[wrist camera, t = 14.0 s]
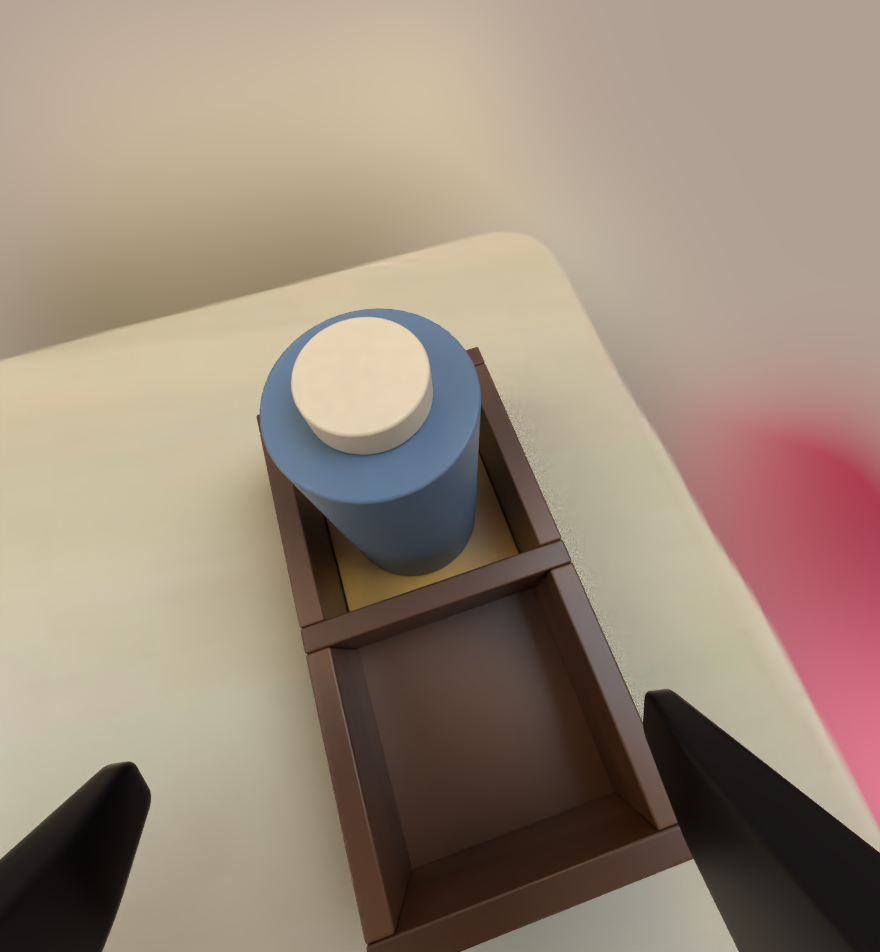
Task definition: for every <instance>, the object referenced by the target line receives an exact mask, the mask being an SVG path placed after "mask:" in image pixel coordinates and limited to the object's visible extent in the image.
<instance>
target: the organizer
mask: <svg viewBox="0 0 880 952" xmlns="http://www.w3.org/2000/svg"><path fill="white" fill-rule="evenodd" d="M466 352H467V353H468V355H469V357H470V359H471V360H472V362H473V364H474V367H475V369H476V372H477V375H478V379H479V383H480V391H481V410H480V430H479V449H478V469H477V488H476V508H475V523H474V528H473V531H472V534H471V537H470V539H469V541H468V543H467V545H466V546H465V548H464V549H463V551H462V552H461V553H460V554H459V555H458V557H457V558H456V559H454V560H453V561H452V562H451V563H450V564H448V565H447V566H445V567H443V568H442V569H440V570H437V571H435V572H432V573H429V574H426V575H420V576H401V575H397V574H393V573H390V572H387V571H385V570H383V569H381V568H379V567H378V566H376V565H375V564H373V563H372V562H371V561H370V560H369V559H368V558H367V557H366V556H365V555H364V554H363V553H362V552H361V551H360V550H359V549H358V548H357V547H356V546H355V545H354V544H353V543H352V542H351V541H350V540H349V539H348V538H347V537H346V536H345V535H344V534H343V533H342V532H341V531H340V530H339V529H338V528H337V527H336V526H335V525H334V524H333V523H332V522H331V521H330V520H329V519H328V518H327V517H326V516H325V515H324V514H323V513H322V512H321V511H320V510H319V509H318V508H317V507H316V506H315V505H314V504H313V503H312V502H311V501H310V500H309V499H308V498H307V497H306V496H305V495H304V494H303V493H302V492H301V491H300V490H299V489H298V488H297V487H296V486H295V485H294V484H293V483H292V482H291V481H290V480H289V479H288V478H287V477H286V476H285V475H284V474H283V473H282V472H281V471H280V470H279V468H278V467H277V466H276V464H275V463H274V462H273V460H272V458H271V457H270V455H269V453H268V451H267V449H266V446H265V443H264V440H263V438H262V432H261V427H260V415H257V421H258V426H259V431H260V433H261V434H260V436H261V441H262V446H263V451H264V456H265V460H266V465H267V470H268V475H269V480H270V485H271V490H272V494H273V499H274V504H275V509H276V514H277V519H278V524H279V528H280V533H281V538H282V543H283V548H284V553H285V558H286V562H287V567H288V572H289V577H290V582H291V587H292V592H293V596H294V601H295V606H296V611H297V616H298V621H299V626H300V628H302V629H301V635H302V640H303V645H304V649H305V653H306V654H308V655H307V663H308V668H309V673H310V678H311V682H312V687H313V692H314V697H315V702H316V707H317V711H318V716H319V721H320V726H321V731H322V736H323V741H324V745H325V750H326V755H327V760H328V765H329V770H330V774H331V779H332V784H333V789H334V794H335V799H336V804H337V808H338V813H339V818H340V823H341V828H342V833H343V838H344V842H345V847H346V852H347V857H348V862H349V867H350V871H351V876H352V881H353V886H354V891H355V896H356V901H357V905H358V910H359V915H360V920H361V925H362V930H363V934H364V939H365V942H366V944H368V945H367V952H460V951H463V950H465V949H468V948H470V947H473V946H475V945H478V944H480V943H483V942H485V941H488V940H490V939H493V938H496V937H498V936H501V935H503V934H506V933H508V932H511V931H513V930H516V929H518V928H521V927H523V926H526V925H528V924H531V923H533V922H536V921H538V920H541V919H543V918H546V917H548V916H551V915H553V914H556V913H558V912H561V911H563V910H566V909H568V908H571V907H573V906H576V905H578V904H581V903H583V902H586V901H588V900H591V899H593V898H596V897H598V896H601V895H603V894H606V893H608V892H611V891H613V890H616V889H618V888H621V887H623V886H626V885H628V884H631V883H634V882H636V881H639V880H641V879H644V878H646V877H649V876H651V875H654V874H656V873H659V872H661V871H664V870H666V869H669V868H671V867H674V866H676V865H679V864H681V863H684V862H686V861H689V860H691V859H694V858H693V856H692V854H691V852H690V850H689V848H688V846H687V843H686V841H685V839H684V837H683V834H682V832H681V829H680V827H679V824H678V822H677V819H676V817H675V814H674V811H673V809H672V806H671V804H670V801H669V798H668V796H667V793H666V790H665V788H664V785H663V782H662V780H661V777H660V774H659V772H658V769H657V767H656V764H655V761H654V759H653V756H652V753H651V751H650V748H649V745H648V743H647V740H646V737H645V734H644V729H643V722H642V720H641V718H640V715H639V713H638V711H637V708H636V706H635V704H634V702H633V699H632V697H631V695H630V693H629V690H628V688H627V686H626V683H625V681H624V679H623V677H622V674H621V672H620V670H619V667H618V665H617V663H616V661H615V658H614V656H613V654H612V651H611V649H610V647H609V645H608V642H607V640H606V638H605V636H604V633H603V631H602V629H601V626H600V624H599V622H598V620H597V617H596V615H595V613H594V610H593V608H592V606H591V604H590V601H589V599H588V597H587V595H586V592H585V590H584V588H583V585H582V583H581V581H580V579H579V576H578V574H577V572H576V569H575V567H574V565H573V564H572V563H570V562H571V558H570V556H569V553H568V551H567V549H566V547H565V544H564V542H563V541H562V540H560V539H561V535H560V533H559V531H558V528H557V526H556V524H555V522H554V519H553V517H552V515H551V513H550V510H549V508H548V506H547V503H546V501H545V499H544V497H543V494H542V492H541V490H540V487H539V485H538V483H537V481H536V478H535V476H534V474H533V471H532V469H531V467H530V465H529V462H528V460H527V458H526V456H525V453H524V451H523V449H522V446H521V444H520V442H519V440H518V437H517V435H516V433H515V430H514V428H513V426H512V424H511V421H510V419H509V417H508V415H507V412H506V410H505V408H504V405H503V403H502V401H501V399H500V396H499V394H498V392H497V389H496V387H495V385H494V383H493V380H492V378H491V376H490V373H489V371H488V369H487V367H486V365H485V364H484V360H483V357H482V355H481V353H480V351H479V348H478V347H476V348H472V349H469V350H466Z"/></svg>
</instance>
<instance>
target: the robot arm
mask: <svg viewBox="0 0 880 952" xmlns="http://www.w3.org/2000/svg"><path fill="white" fill-rule="evenodd" d="M643 729H644V734H645V737H646V740H647V743H648V745H649V748H650V751H651V753H652V756H653V759H654V761H655V764H656V767H657V769H658V772H659V774H660V777H661V780H662V782H663V785H664V788H665V790H666V793H667V796H668V798H669V801H670V804H671V806H672V809H673V811H674V814H675V817H676V819H677V822H678V824H679V827H680V829H681V832H682V834H683V837H684V839H685V841H686V843H687V846H688V848H689V850H690V852H691V854H692V856H693V858H694V861H695V863H696V865H697V867H698V869H699V871H700V873H701V875H702V877H703V879H704V881H705V883H706V885H707V887H708V889H709V891H710V893H711V895H712V897H713V899H714V902H715V904H716V906H717V908H718V910H719V912H720V914H721V916H722V918H723V920H724V922H725V924H726V926H727V928H728V930H729V932H730V934H731V936H732V938H733V940H734V943H735V945H736V947H737V949H738V951H739V952H880V853H879V852H878V851H877V850H875V849H874V848H873V847H872V846H870V845H869V844H868V843H866V842H865V841H864V840H863V839H861V838H860V837H859V836H858V835H856V834H855V833H854V832H852V831H851V830H850V829H849V828H847V827H846V826H845V825H843V824H842V823H841V822H840V821H838V820H837V819H836V818H835V817H833V816H832V815H831V814H829V813H828V812H827V811H826V810H824V809H823V808H822V807H820V806H819V805H818V804H817V803H815V802H814V801H813V800H812V799H810V798H809V797H808V796H806V795H805V794H804V793H803V792H801V791H800V790H799V789H797V788H796V787H795V786H794V785H792V784H791V783H790V782H789V781H787V780H786V779H785V778H783V777H782V776H781V775H780V774H778V773H777V772H776V771H775V770H773V769H772V768H771V767H769V766H768V765H767V764H766V763H764V762H763V761H762V760H760V759H759V758H758V757H757V756H755V755H754V754H753V753H752V752H750V751H749V750H748V749H746V748H745V747H744V746H743V745H741V744H740V743H739V742H737V741H736V740H735V739H734V738H732V737H731V736H730V735H729V734H727V733H726V732H725V731H723V730H722V729H721V728H720V727H718V726H717V725H716V724H715V723H713V722H712V721H711V720H709V719H708V718H707V717H706V716H704V715H703V714H702V713H700V712H699V711H698V710H697V709H695V708H694V707H693V706H692V705H690V704H689V703H688V702H686V701H685V700H684V699H683V698H681V697H680V696H679V695H677V694H676V693H675V692H673V691H671V690H669V689H662V690H655V691H649V692H647V693H646V695H645V700H644V717H643ZM150 803H151V793H150V789H149V787H148V785H147V784H146V782H145V780H144V778H143V777H142V775H141V773H140V771H139V770H138V768H137V766H136V765H135V764H134V763H132V762H122V763H114V764H110V765H107V766H105V767H104V768H102V769H101V770H100V771H99V772H97V773H96V774H95V775H94V776H93V777H92V778H91V779H90V780H89V781H87V782H86V783H85V784H84V785H83V786H82V787H81V788H80V789H78V790H77V791H76V792H75V793H74V794H73V795H72V796H71V797H70V798H68V799H67V800H66V801H65V802H64V803H63V804H62V805H61V806H59V807H58V808H57V809H56V810H55V811H54V812H53V813H52V814H51V815H49V816H48V817H47V818H46V819H45V820H44V821H43V822H42V823H40V824H39V825H38V826H37V827H36V828H35V829H34V830H33V831H32V832H30V833H29V834H28V835H27V836H26V837H25V838H24V839H23V840H21V841H20V842H19V843H18V844H17V845H16V846H15V847H14V848H13V849H11V850H10V851H9V852H8V853H7V854H6V855H5V856H4V857H3V858H1V859H0V952H102V951H103V948H104V946H105V943H106V941H107V938H108V936H109V933H110V930H111V928H112V925H113V922H114V920H115V917H116V914H117V911H118V908H119V905H120V902H121V899H122V896H123V893H124V890H125V887H126V883H127V880H128V877H129V874H130V870H131V867H132V864H133V860H134V857H135V854H136V851H137V847H138V844H139V841H140V837H141V834H142V831H143V828H144V824H145V821H146V818H147V814H148V811H149V808H150Z"/></svg>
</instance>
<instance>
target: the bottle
mask: <svg viewBox="0 0 880 952" xmlns="http://www.w3.org/2000/svg"><path fill="white" fill-rule="evenodd" d="M480 410H481V391H480V383H479V379H478V375H477V372H476V369H475V367H474V364H473V362H472V360H471V359H470V357H469V355H468V353H467V352H466V350H465V349H464V348H463V347H462V345H461V344H460V343H459V342H458V341H457V340H456V339H455V338H454V337H453V336H452V335H451V334H450V333H449V332H448V331H446V330H445V329H444V328H442V327H441V326H439V325H438V324H436V323H434V322H432V321H430V320H428V319H426V318H424V317H421V316H419V315H416V314H413V313H409V312H405V311H399V310H392V309H366V310H359V311H354V312H349V313H346V314H342V315H339V316H336V317H333V318H331V319H328V320H326V321H324V322H322V323H320V324H318V325H316V326H314V327H313V328H311V329H310V330H308V331H307V332H305V333H304V334H302V335H301V336H300V337H299V338H298V339H296V340H295V341H294V342H293V343H292V344H291V345H290V346H289V347H288V348H287V349H286V350H285V351H284V352H283V354H282V355H281V356H280V358H279V359H278V360H277V362H276V363H275V365H274V367H273V368H272V370H271V372H270V374H269V376H268V378H267V381H266V383H265V386H264V389H263V393H262V397H261V404H260V427H261V432H262V438H263V440H264V443H265V446H266V449H267V451H268V453H269V455H270V457H271V458H272V460H273V462H274V463H275V464H276V466H277V467H278V468H279V470H280V471H281V472H282V473H283V474H284V475H285V476H286V477H287V478H288V479H289V480H290V481H291V482H292V483H293V484H294V485H295V486H296V487H297V488H298V489H299V490H300V491H301V492H302V493H303V494H304V495H305V496H306V497H307V498H308V499H309V500H310V501H311V502H312V503H313V504H314V505H315V506H316V507H317V508H318V509H319V510H320V511H321V512H322V513H323V514H324V515H325V516H326V517H327V518H328V519H329V520H330V521H331V522H332V523H333V524H334V525H335V526H336V527H337V528H338V529H339V530H340V531H341V532H342V533H343V534H344V535H345V536H346V537H347V538H348V539H349V540H350V541H351V542H352V543H353V544H354V545H355V546H356V547H357V548H358V549H359V550H360V551H361V552H362V553H363V554H364V555H365V556H366V557H367V558H368V559H369V560H370V561H371V562H372V563H373V564H375V565H376V566H378V567H379V568H381V569H383V570H385V571H387V572H390V573H393V574H397V575H401V576H420V575H426V574H429V573H432V572H435V571H437V570H440V569H442V568H443V567H445V566H447V565H448V564H450V563H451V562H452V561H453V560H454V559H456V558H457V557H458V555H459V554H460V553H461V552H462V551H463V549H464V548H465V546H466V545H467V543H468V541H469V539H470V537H471V534H472V531H473V528H474V523H475V508H476V488H477V469H478V449H479V430H480Z"/></svg>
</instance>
